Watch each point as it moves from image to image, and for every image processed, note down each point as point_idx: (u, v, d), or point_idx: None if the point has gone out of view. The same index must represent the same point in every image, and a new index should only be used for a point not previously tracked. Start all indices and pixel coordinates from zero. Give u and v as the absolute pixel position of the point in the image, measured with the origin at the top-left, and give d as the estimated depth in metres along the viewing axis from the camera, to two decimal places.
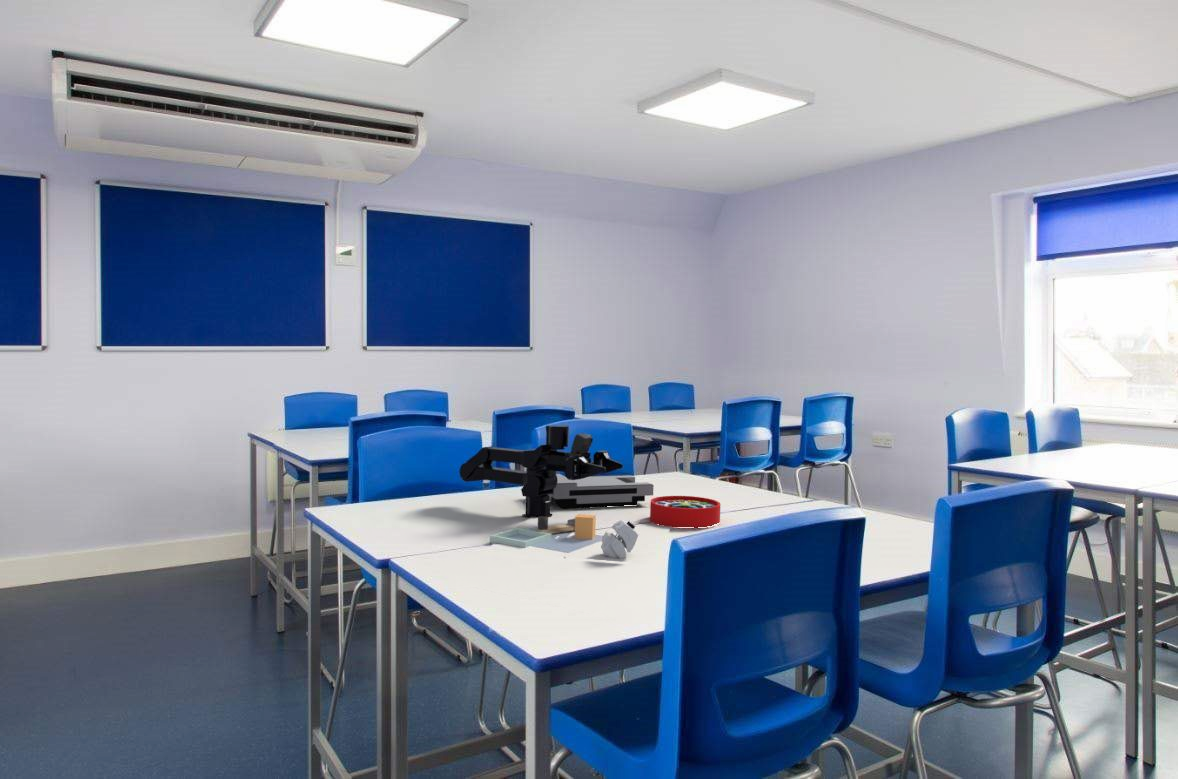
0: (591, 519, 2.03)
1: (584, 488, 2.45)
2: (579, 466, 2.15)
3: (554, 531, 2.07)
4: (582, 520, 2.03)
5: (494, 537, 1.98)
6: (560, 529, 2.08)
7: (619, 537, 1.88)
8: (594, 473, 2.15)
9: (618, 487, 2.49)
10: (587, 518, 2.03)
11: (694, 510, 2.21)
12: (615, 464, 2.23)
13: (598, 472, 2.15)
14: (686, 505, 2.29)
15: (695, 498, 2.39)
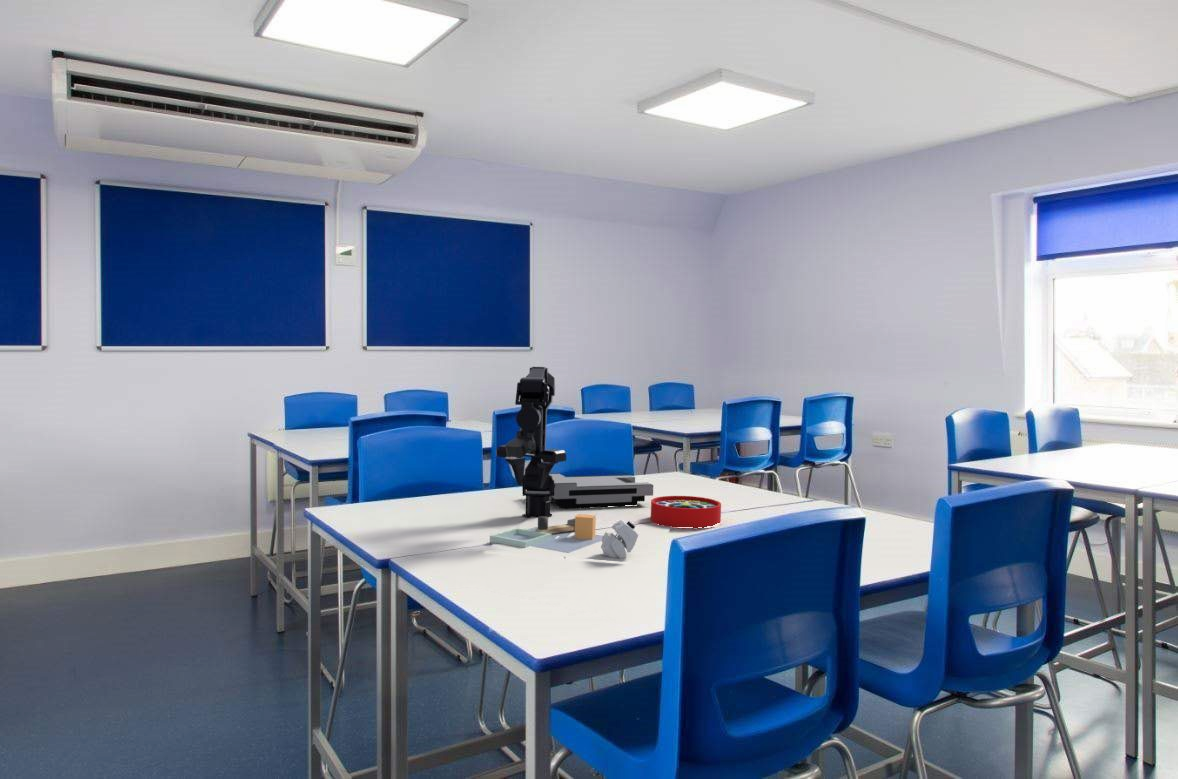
0: (591, 519, 2.03)
1: (584, 488, 2.45)
2: None
3: (554, 531, 2.07)
4: (582, 520, 2.03)
5: (494, 537, 1.98)
6: (560, 529, 2.08)
7: (619, 537, 1.88)
8: None
9: (618, 487, 2.49)
10: (587, 518, 2.03)
11: (695, 510, 2.21)
12: None
13: None
14: (687, 505, 2.29)
15: (696, 498, 2.39)
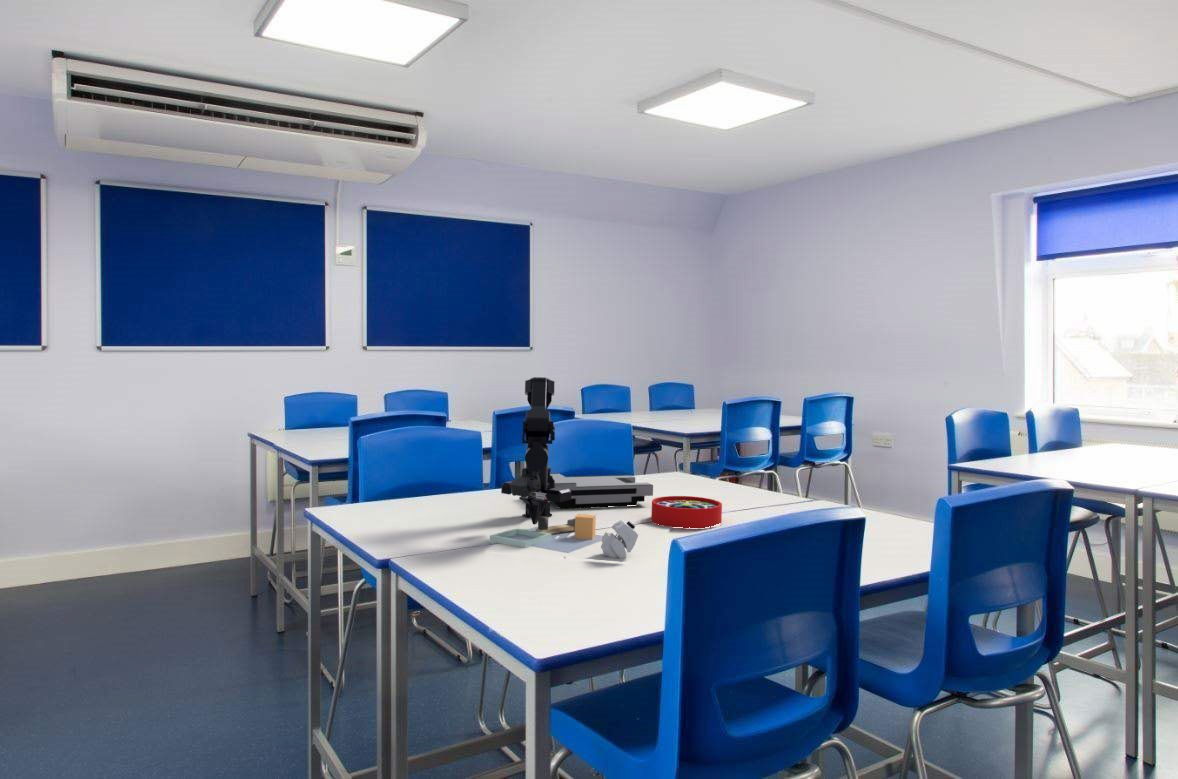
0: (591, 519, 2.03)
1: (583, 488, 2.45)
2: None
3: (554, 531, 2.07)
4: (582, 520, 2.03)
5: (494, 537, 1.98)
6: (560, 529, 2.08)
7: (619, 537, 1.88)
8: None
9: (617, 487, 2.48)
10: (587, 518, 2.03)
11: (696, 510, 2.20)
12: None
13: None
14: (687, 505, 2.29)
15: (696, 498, 2.39)
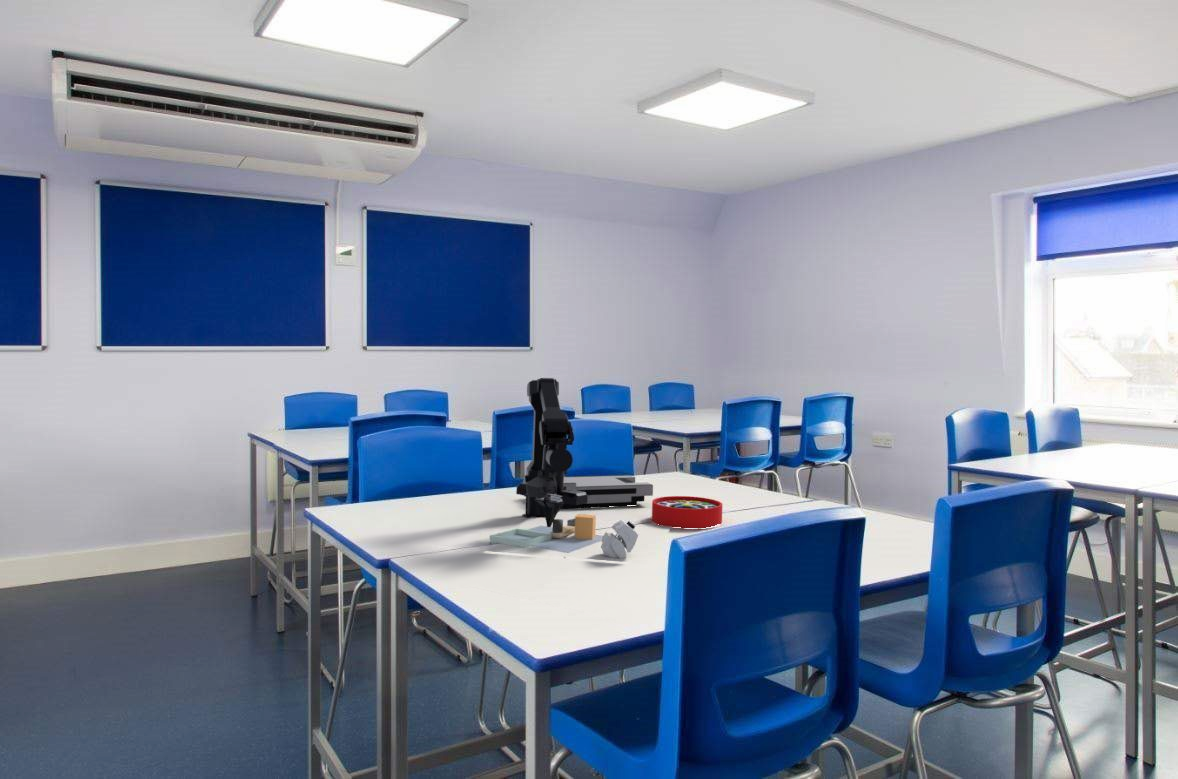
0: (591, 519, 2.03)
1: (583, 488, 2.45)
2: None
3: (567, 533, 2.05)
4: (582, 520, 2.03)
5: (494, 537, 1.98)
6: (570, 530, 2.07)
7: (619, 537, 1.88)
8: None
9: (617, 487, 2.48)
10: (587, 518, 2.03)
11: (696, 510, 2.20)
12: None
13: None
14: (688, 505, 2.29)
15: (697, 498, 2.39)
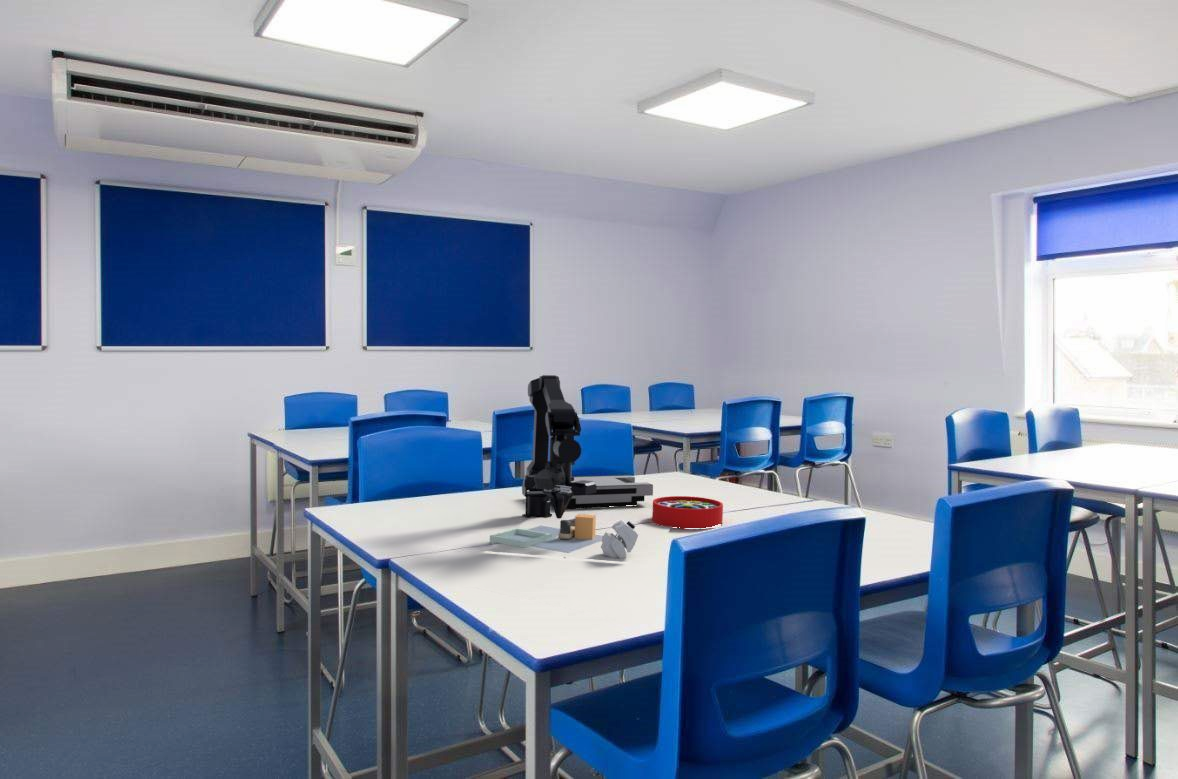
0: (591, 519, 2.03)
1: None
2: None
3: (573, 533, 2.05)
4: (582, 520, 2.03)
5: (494, 537, 1.98)
6: None
7: (619, 537, 1.88)
8: None
9: (617, 487, 2.48)
10: (587, 518, 2.03)
11: (697, 511, 2.20)
12: None
13: None
14: (688, 506, 2.29)
15: (697, 498, 2.38)
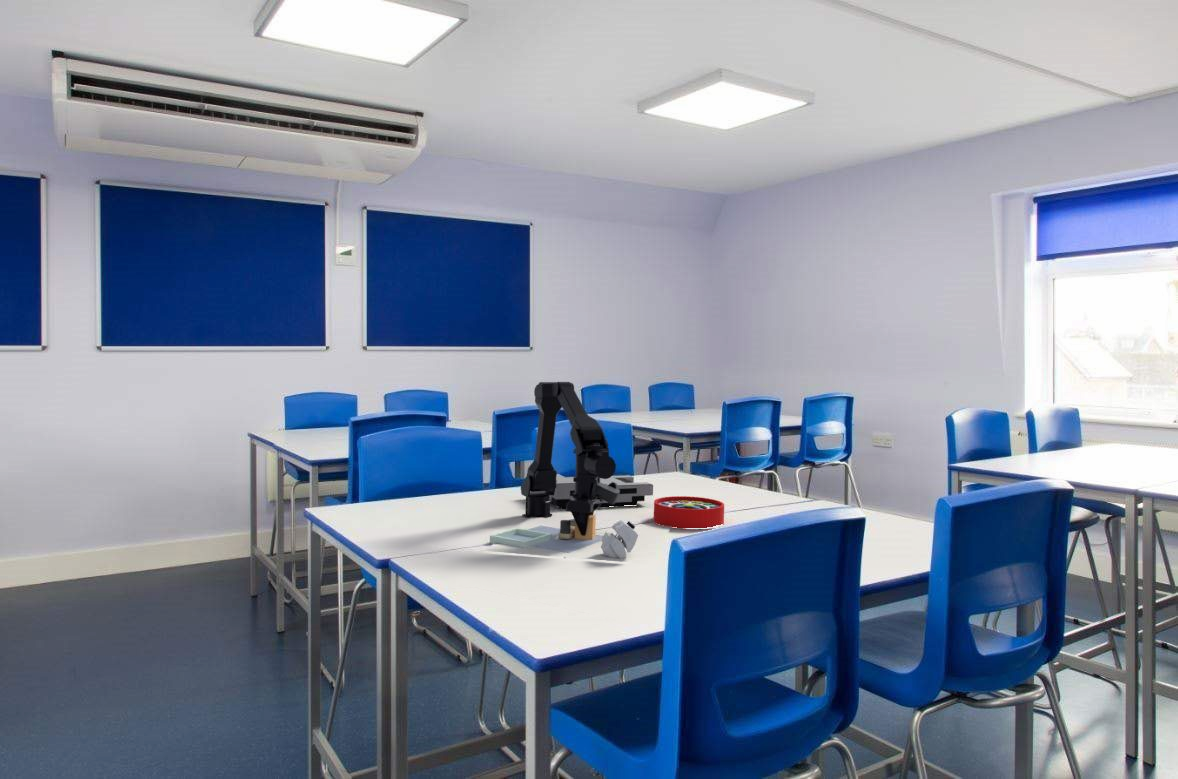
0: (591, 519, 2.03)
1: None
2: None
3: (573, 533, 2.05)
4: None
5: (494, 537, 1.98)
6: None
7: (619, 537, 1.88)
8: (578, 524, 2.02)
9: (618, 487, 2.49)
10: None
11: (698, 511, 2.20)
12: None
13: (579, 528, 2.03)
14: (690, 506, 2.28)
15: (699, 499, 2.38)
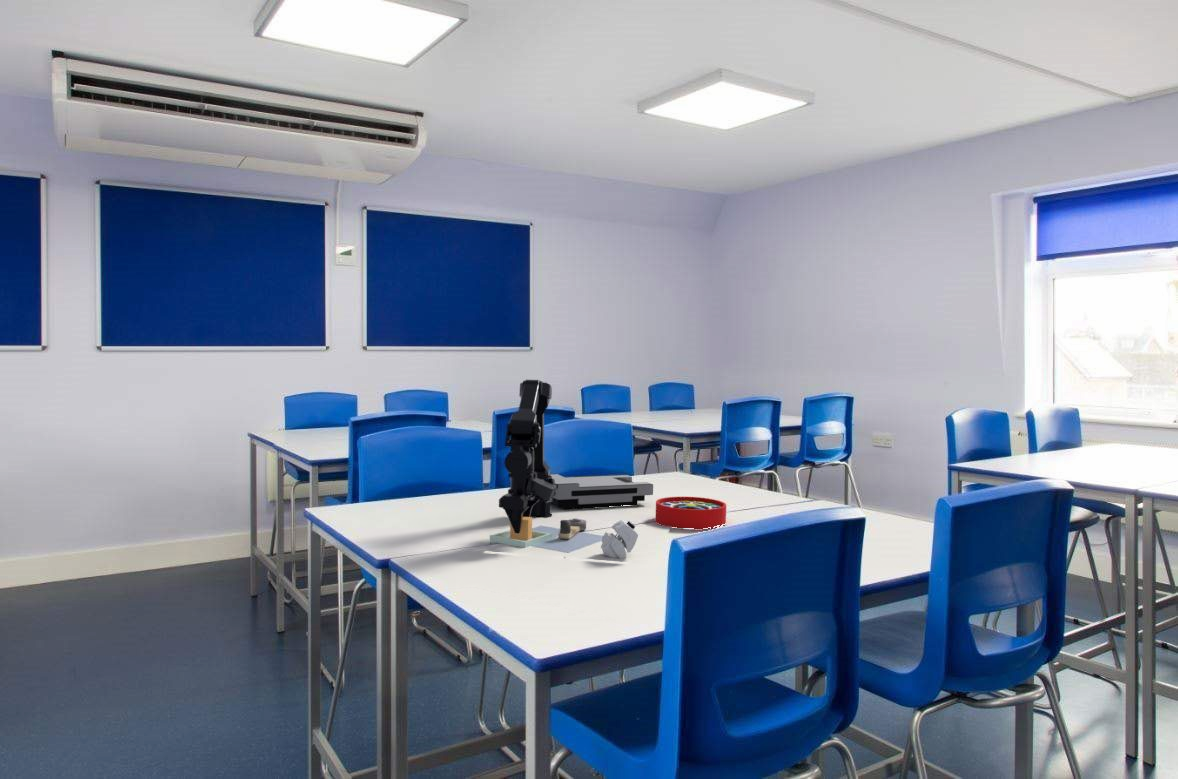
0: (526, 521, 1.99)
1: (586, 488, 2.45)
2: (516, 509, 1.94)
3: (573, 533, 2.05)
4: None
5: (494, 537, 1.98)
6: (575, 531, 2.07)
7: (619, 537, 1.88)
8: (511, 522, 1.97)
9: (619, 487, 2.49)
10: (522, 520, 1.99)
11: (700, 511, 2.20)
12: None
13: (513, 526, 1.97)
14: (692, 506, 2.28)
15: (700, 499, 2.38)
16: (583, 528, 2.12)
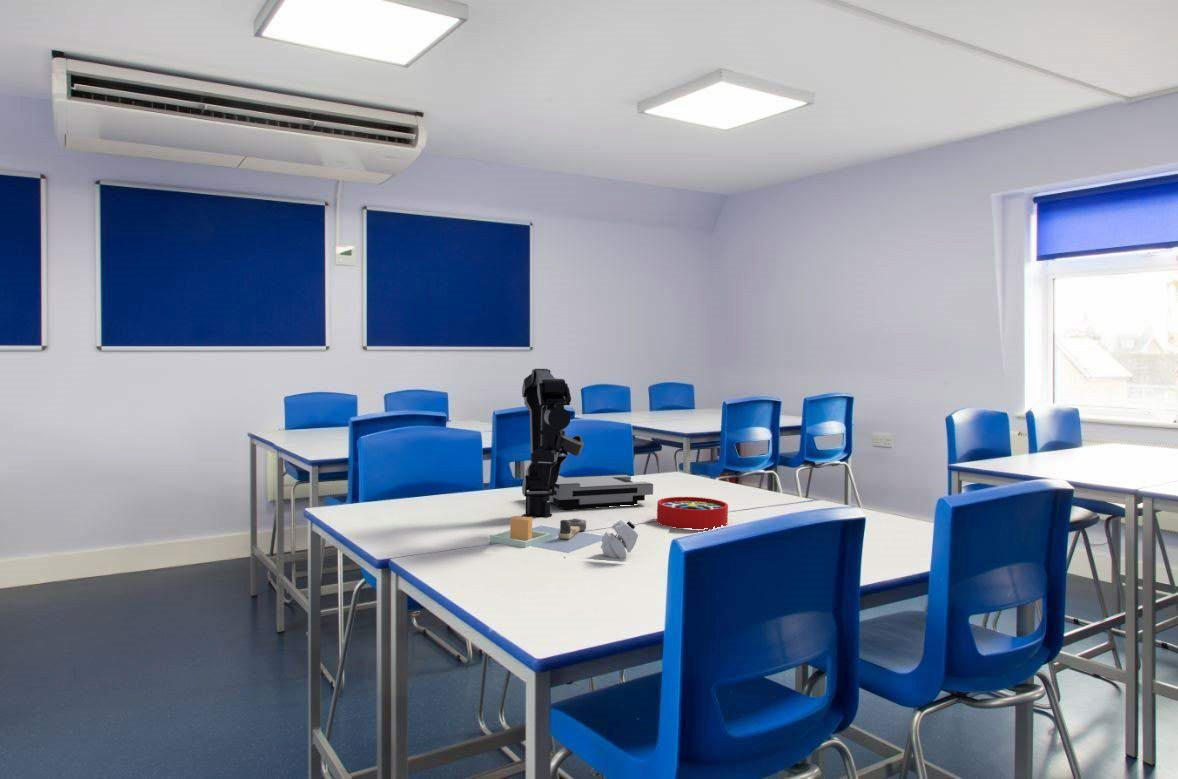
0: (526, 521, 1.99)
1: (587, 488, 2.44)
2: (545, 464, 2.05)
3: (573, 533, 2.05)
4: (518, 522, 1.99)
5: (494, 537, 1.98)
6: (575, 531, 2.07)
7: (619, 537, 1.88)
8: (540, 477, 2.07)
9: (619, 487, 2.49)
10: (522, 520, 1.99)
11: (702, 511, 2.19)
12: (555, 474, 2.17)
13: (542, 481, 2.08)
14: (693, 506, 2.28)
15: (702, 499, 2.37)
16: (583, 528, 2.12)
